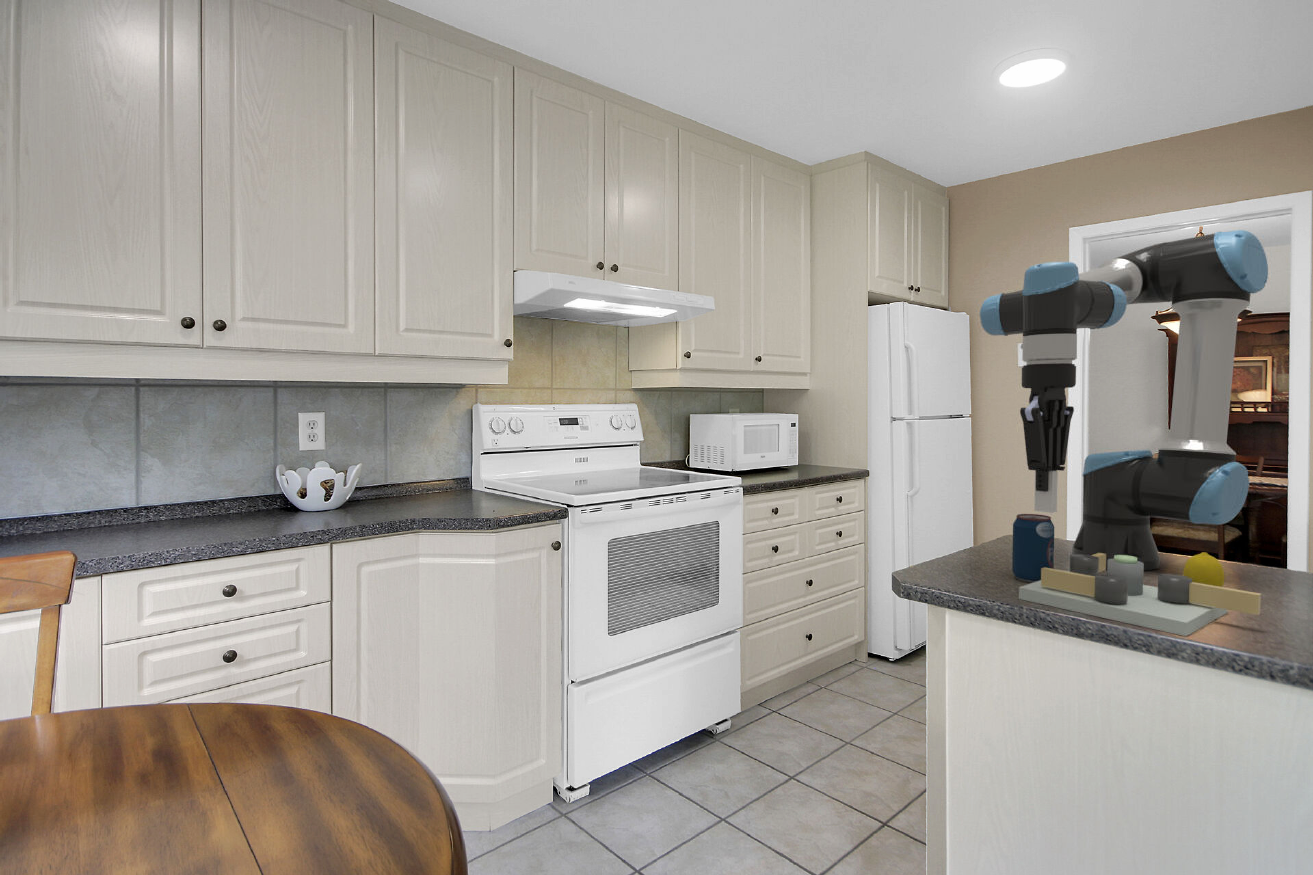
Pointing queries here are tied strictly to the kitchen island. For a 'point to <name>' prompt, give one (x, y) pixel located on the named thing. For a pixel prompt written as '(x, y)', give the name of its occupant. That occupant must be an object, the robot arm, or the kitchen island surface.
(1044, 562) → the soda can
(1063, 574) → the front knob
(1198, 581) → the lemon
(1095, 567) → the knob
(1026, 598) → the plate
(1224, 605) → the knob
